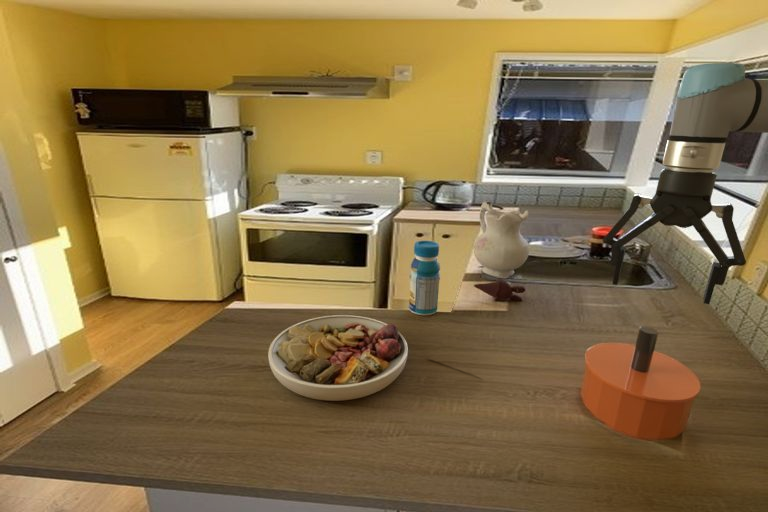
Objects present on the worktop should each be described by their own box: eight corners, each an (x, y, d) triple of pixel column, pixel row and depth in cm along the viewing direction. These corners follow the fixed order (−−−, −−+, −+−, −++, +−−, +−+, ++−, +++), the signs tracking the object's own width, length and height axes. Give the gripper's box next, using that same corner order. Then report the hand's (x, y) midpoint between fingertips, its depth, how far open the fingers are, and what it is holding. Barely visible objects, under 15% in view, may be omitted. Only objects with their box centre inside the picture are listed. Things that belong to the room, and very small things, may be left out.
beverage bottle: (426, 319, 116) (430, 250, 110) (402, 310, 122) (405, 243, 115) (443, 309, 123) (448, 243, 116) (419, 301, 128) (423, 237, 121)
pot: (684, 402, 85) (695, 365, 82) (683, 456, 71) (696, 414, 68) (589, 372, 94) (596, 338, 91) (572, 415, 80) (579, 376, 78)
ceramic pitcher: (456, 270, 157) (458, 205, 148) (487, 256, 169) (490, 195, 160) (507, 288, 142) (513, 217, 133) (537, 271, 154) (544, 204, 145)
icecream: (474, 283, 126) (526, 293, 122) (476, 269, 132) (526, 279, 128) (470, 301, 129) (521, 311, 126) (473, 287, 135) (521, 296, 132)
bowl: (286, 427, 75) (283, 389, 73) (259, 346, 101) (257, 316, 99) (432, 387, 87) (434, 354, 85) (375, 324, 113) (375, 297, 111)
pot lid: (697, 367, 82) (710, 325, 79) (700, 421, 68) (715, 371, 65) (592, 338, 92) (600, 299, 89) (574, 379, 78) (583, 335, 75)
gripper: (599, 164, 72) (578, 281, 78) (798, 179, 58) (752, 318, 65) (606, 161, 77) (586, 270, 84) (788, 174, 64) (746, 302, 71)
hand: (658, 291), depth 75 cm, fingers open, 13 cm apart
